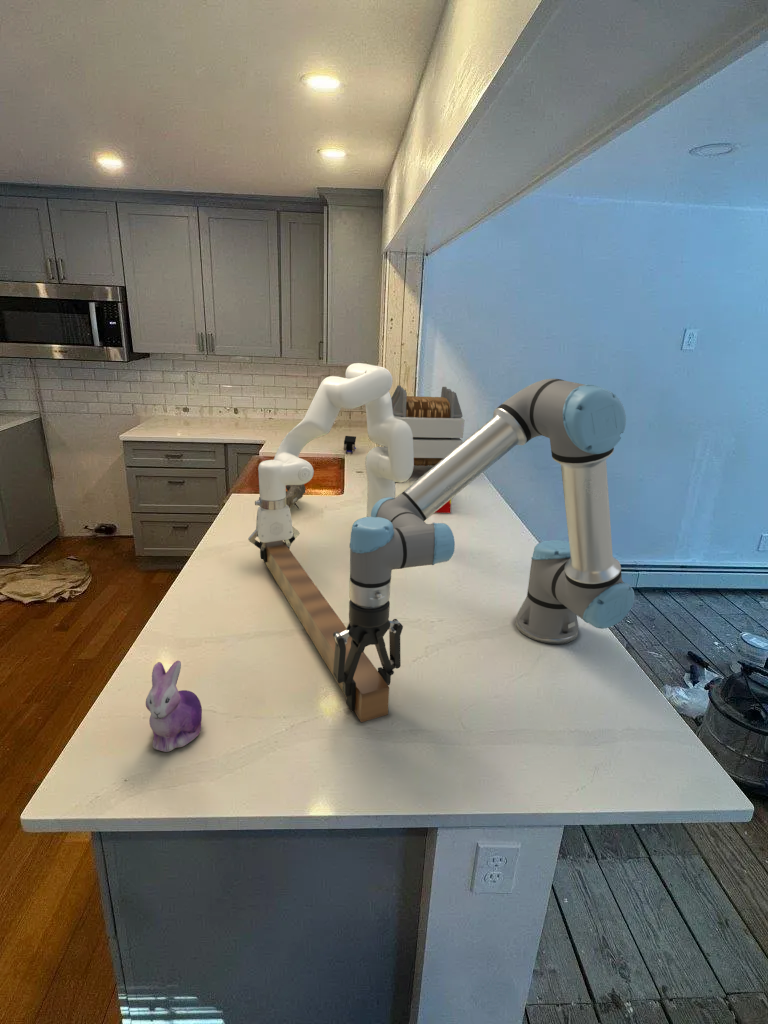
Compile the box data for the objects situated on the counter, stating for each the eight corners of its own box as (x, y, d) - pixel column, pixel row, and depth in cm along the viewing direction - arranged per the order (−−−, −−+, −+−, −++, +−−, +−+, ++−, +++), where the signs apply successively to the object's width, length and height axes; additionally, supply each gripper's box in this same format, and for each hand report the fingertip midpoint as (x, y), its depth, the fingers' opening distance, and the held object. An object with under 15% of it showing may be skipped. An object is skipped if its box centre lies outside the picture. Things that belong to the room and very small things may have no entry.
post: (262, 558, 174) (261, 539, 172) (280, 556, 176) (280, 536, 174) (360, 722, 108) (361, 694, 106) (388, 714, 111) (389, 687, 109)
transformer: (382, 463, 289) (386, 382, 275) (445, 464, 293) (451, 384, 279) (390, 482, 257) (394, 392, 243) (460, 483, 261) (468, 394, 247)
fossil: (276, 488, 229) (303, 468, 224) (291, 505, 232) (319, 486, 227) (260, 511, 209) (290, 490, 204) (277, 530, 212) (307, 510, 207)
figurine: (153, 762, 97) (144, 689, 92) (146, 724, 105) (138, 655, 100) (210, 745, 101) (204, 674, 96) (199, 710, 109) (193, 643, 104)
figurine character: (355, 457, 303) (356, 447, 317) (355, 444, 300) (356, 434, 313) (342, 457, 303) (344, 447, 316) (343, 443, 300) (344, 434, 313)
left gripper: (246, 510, 158) (249, 568, 164) (305, 503, 165) (306, 559, 172) (240, 502, 165) (243, 558, 171) (297, 495, 172) (299, 550, 178)
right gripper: (328, 619, 98) (327, 727, 106) (424, 599, 106) (417, 702, 114) (314, 599, 104) (314, 703, 112) (405, 582, 112) (400, 680, 120)
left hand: (275, 558), depth 171 cm, fingers closed on post, 5 cm apart
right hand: (366, 702), depth 113 cm, fingers open, 6 cm apart
